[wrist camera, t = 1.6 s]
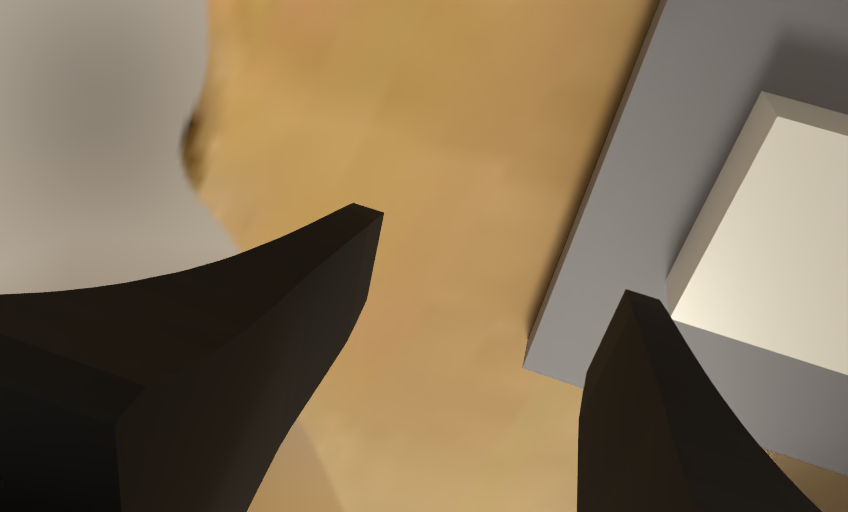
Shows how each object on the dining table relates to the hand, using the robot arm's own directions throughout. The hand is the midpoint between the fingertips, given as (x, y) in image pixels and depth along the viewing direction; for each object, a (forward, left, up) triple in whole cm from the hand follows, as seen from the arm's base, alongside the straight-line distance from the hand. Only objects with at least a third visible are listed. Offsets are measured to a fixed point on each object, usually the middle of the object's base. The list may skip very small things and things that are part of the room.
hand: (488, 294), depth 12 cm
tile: (0, -9, -7) cm, 11 cm away
